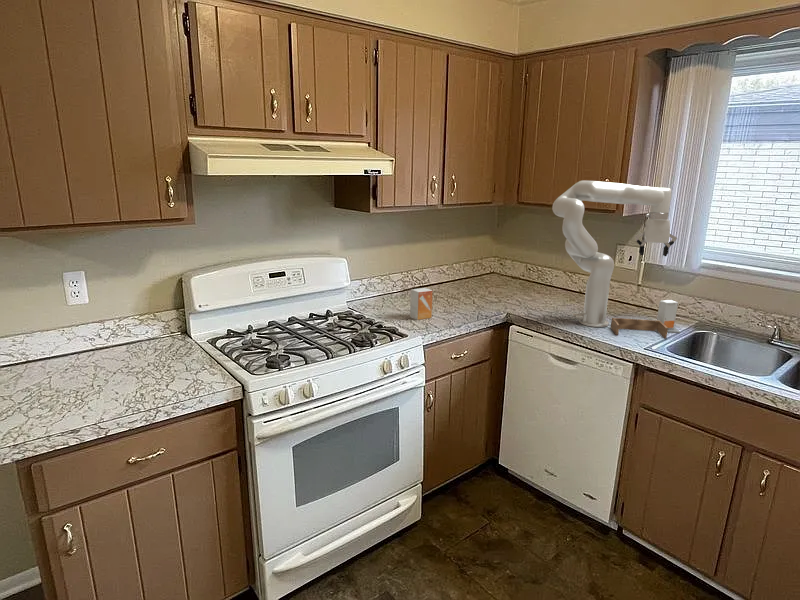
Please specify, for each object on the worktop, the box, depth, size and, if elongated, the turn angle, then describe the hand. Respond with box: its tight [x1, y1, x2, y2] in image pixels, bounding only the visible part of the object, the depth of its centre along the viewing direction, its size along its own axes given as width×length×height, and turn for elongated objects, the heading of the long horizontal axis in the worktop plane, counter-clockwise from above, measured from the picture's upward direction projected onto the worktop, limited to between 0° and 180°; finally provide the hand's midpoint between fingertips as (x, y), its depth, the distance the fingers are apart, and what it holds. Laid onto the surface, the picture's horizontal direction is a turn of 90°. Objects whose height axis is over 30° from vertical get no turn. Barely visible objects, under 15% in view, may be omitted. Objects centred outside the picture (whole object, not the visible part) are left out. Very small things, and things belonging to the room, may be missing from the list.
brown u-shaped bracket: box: [610, 317, 668, 339], centre depth 220 cm, size 20×11×4 cm, turn 80°
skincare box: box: [656, 299, 679, 329], centre depth 225 cm, size 6×4×12 cm
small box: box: [409, 287, 434, 321], centre depth 237 cm, size 8×6×13 cm
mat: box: [654, 326, 681, 334], centre depth 227 cm, size 10×10×1 cm
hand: (653, 255), depth 232 cm, fingers open, 9 cm apart
